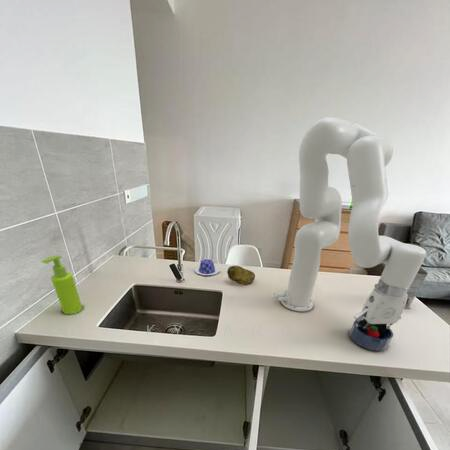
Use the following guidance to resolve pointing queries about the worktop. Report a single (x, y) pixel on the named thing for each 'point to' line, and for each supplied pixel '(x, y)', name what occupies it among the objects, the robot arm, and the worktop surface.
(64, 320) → the worktop surface
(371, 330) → the strawberry
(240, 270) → the potato
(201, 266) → the pudding
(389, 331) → the dessert bowl
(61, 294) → the soap dispenser
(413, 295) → the coffee box
